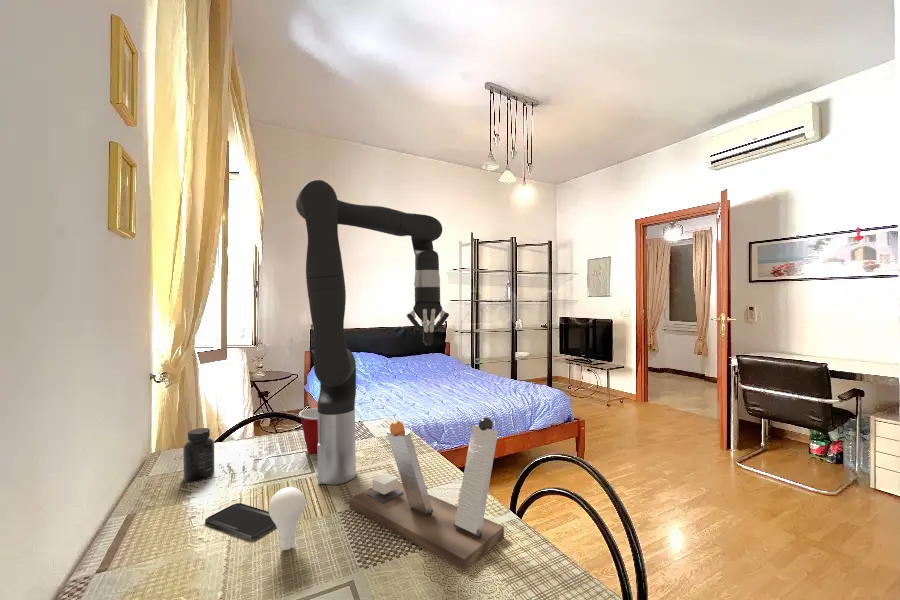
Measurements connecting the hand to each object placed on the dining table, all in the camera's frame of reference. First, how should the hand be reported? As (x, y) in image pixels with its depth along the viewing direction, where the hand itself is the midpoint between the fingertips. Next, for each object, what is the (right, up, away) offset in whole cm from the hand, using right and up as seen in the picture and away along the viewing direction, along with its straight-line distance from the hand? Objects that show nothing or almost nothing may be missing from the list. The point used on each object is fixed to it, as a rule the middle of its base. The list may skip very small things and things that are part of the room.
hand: (428, 344), depth 114 cm
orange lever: (0, -29, -35) cm, 46 cm away
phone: (-36, -33, -35) cm, 60 cm away
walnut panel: (+1, -32, -35) cm, 48 cm away
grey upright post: (+10, -29, -43) cm, 53 cm away
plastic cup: (-33, -33, +3) cm, 47 cm away
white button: (-8, -30, -28) cm, 42 cm away
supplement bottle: (-59, -33, -13) cm, 69 cm away
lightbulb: (-23, -32, -44) cm, 59 cm away
